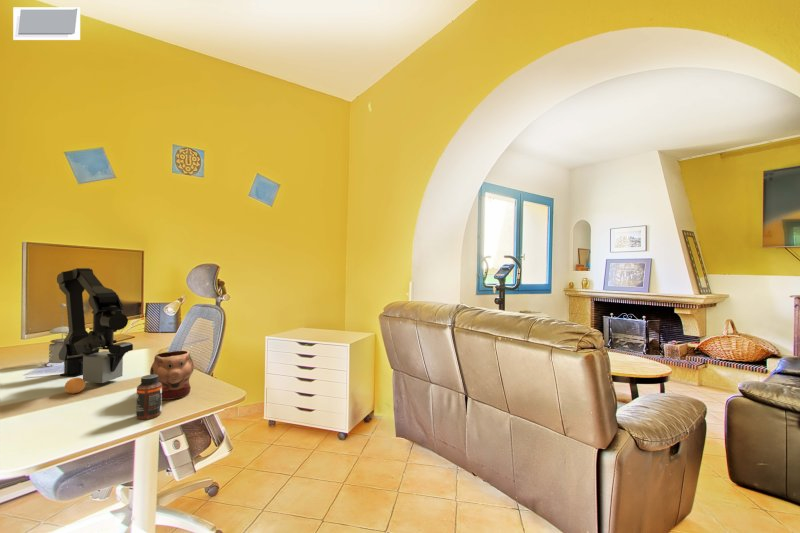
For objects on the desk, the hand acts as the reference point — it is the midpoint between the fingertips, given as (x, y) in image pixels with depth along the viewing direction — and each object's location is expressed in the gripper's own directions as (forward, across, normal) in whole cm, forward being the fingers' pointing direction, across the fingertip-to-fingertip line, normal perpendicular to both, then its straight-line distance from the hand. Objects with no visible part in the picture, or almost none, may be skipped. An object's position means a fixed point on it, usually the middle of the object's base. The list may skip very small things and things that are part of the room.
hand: (102, 370), depth 127 cm
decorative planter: (+5, +31, -4) cm, 31 cm away
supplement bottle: (+5, +37, -21) cm, 43 cm away
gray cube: (+3, 0, 0) cm, 3 cm away
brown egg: (+2, 0, -10) cm, 10 cm away
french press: (+5, -39, +19) cm, 44 cm away
